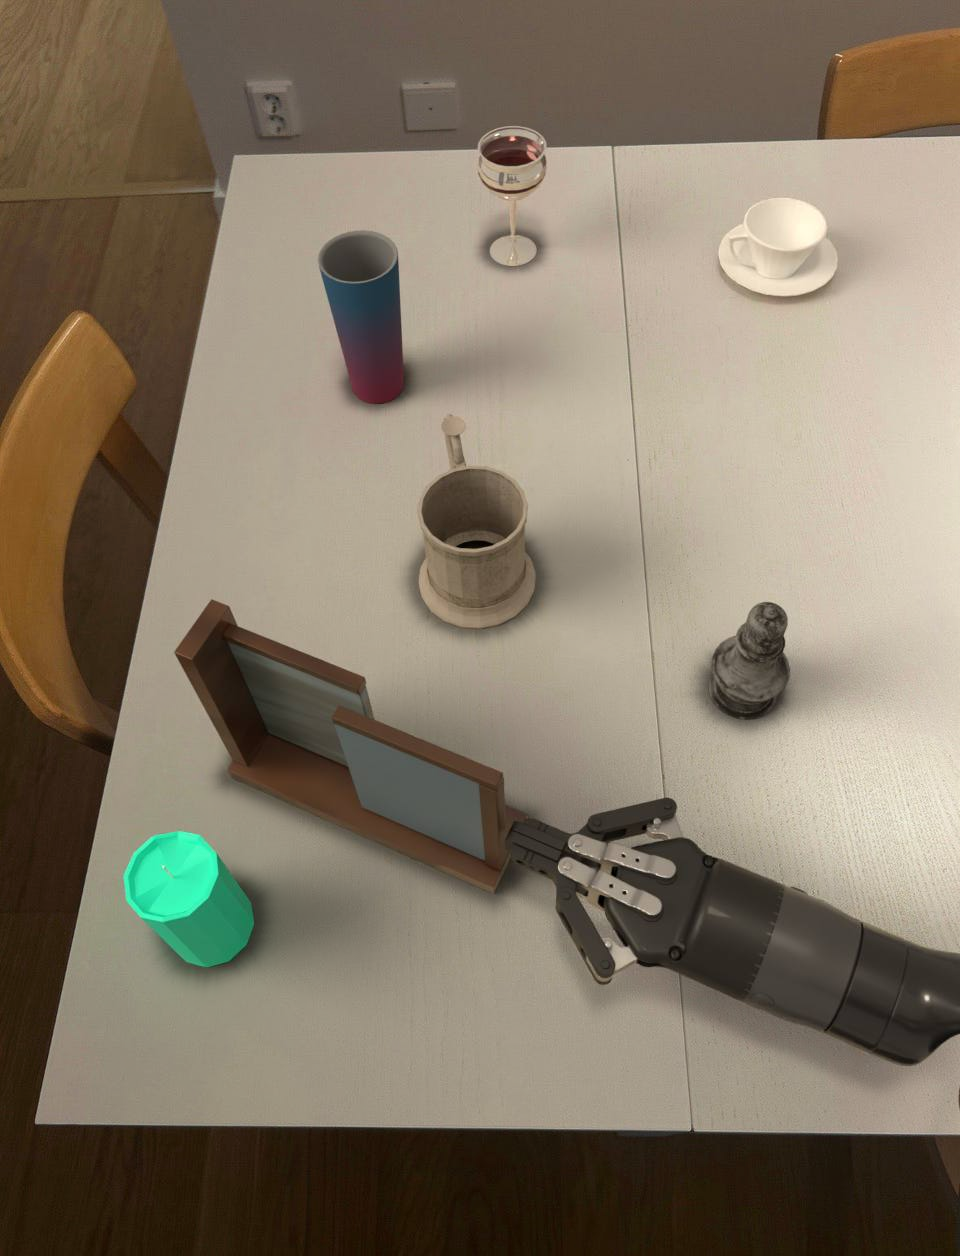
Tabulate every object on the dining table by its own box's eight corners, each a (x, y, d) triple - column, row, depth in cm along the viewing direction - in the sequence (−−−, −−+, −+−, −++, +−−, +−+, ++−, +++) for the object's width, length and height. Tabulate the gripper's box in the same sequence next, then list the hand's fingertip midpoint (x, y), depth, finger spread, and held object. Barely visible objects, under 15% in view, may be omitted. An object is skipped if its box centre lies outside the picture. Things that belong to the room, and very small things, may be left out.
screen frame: (493, 894, 75) (486, 796, 61) (231, 777, 81) (166, 662, 66) (527, 821, 78) (528, 711, 63) (271, 713, 84) (218, 589, 69)
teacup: (695, 248, 111) (702, 204, 107) (794, 216, 114) (805, 172, 109) (754, 320, 105) (764, 277, 101) (857, 285, 108) (872, 241, 103)
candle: (249, 966, 73) (205, 914, 63) (163, 968, 73) (105, 916, 63) (258, 882, 76) (218, 819, 66) (176, 883, 77) (123, 821, 66)
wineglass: (558, 249, 112) (562, 145, 102) (512, 280, 110) (511, 177, 100) (513, 221, 115) (512, 116, 105) (467, 250, 112) (462, 147, 102)
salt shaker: (698, 712, 83) (722, 630, 72) (712, 649, 85) (737, 562, 75) (774, 731, 81) (810, 651, 71) (786, 667, 84) (822, 581, 74)
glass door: (500, 870, 74) (496, 788, 62) (360, 809, 77) (329, 718, 65) (507, 855, 75) (504, 770, 63) (368, 795, 78) (339, 703, 66)
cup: (417, 361, 104) (403, 231, 91) (408, 412, 100) (391, 284, 88) (349, 358, 104) (325, 228, 92) (337, 409, 101) (311, 281, 88)
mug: (547, 615, 88) (551, 526, 78) (431, 638, 87) (419, 552, 77) (507, 483, 95) (506, 387, 85) (400, 504, 94) (385, 409, 84)
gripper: (723, 1060, 65) (468, 943, 69) (785, 870, 71) (547, 773, 76) (745, 1035, 59) (463, 907, 63) (811, 828, 65) (550, 725, 69)
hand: (509, 834), depth 69 cm, fingers closed
